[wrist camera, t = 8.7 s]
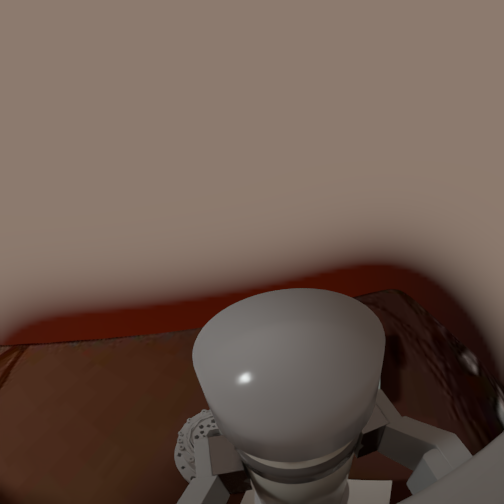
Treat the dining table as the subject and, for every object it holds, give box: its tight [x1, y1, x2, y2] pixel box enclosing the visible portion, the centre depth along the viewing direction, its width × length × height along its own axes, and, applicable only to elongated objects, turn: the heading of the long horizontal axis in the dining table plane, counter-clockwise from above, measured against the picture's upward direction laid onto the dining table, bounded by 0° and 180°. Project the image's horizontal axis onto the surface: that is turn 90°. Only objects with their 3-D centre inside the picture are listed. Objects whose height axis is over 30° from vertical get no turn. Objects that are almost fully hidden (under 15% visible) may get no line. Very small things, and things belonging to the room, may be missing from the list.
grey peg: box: [192, 288, 385, 504], centre depth 9 cm, size 4×4×12 cm
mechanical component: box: [174, 410, 251, 483], centre depth 25 cm, size 10×4×10 cm
